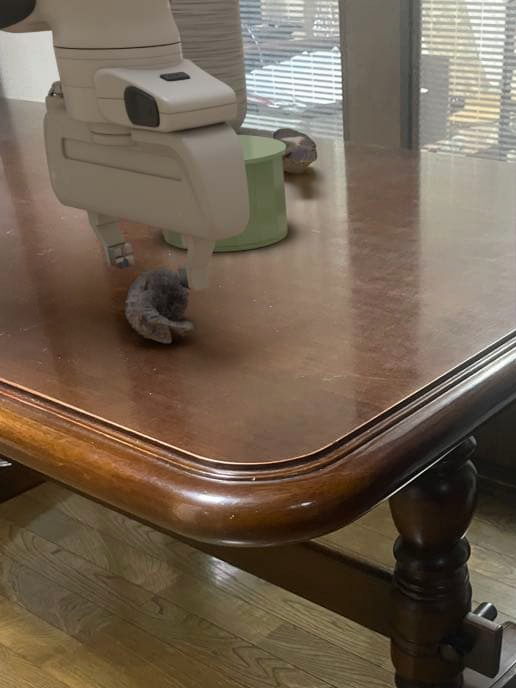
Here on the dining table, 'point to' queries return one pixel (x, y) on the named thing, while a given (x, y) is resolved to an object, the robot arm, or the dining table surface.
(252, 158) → the pot lid
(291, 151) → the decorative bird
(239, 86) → the vase
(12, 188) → the dining table surface
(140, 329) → the seashell
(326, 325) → the dining table surface
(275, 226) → the pot
